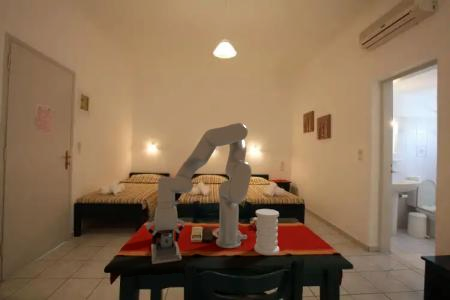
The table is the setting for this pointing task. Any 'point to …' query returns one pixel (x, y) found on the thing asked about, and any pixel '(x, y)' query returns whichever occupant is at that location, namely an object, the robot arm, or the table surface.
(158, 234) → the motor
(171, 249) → the mounting plate
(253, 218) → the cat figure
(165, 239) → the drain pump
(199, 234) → the table surface
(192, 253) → the table surface
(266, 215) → the decorative container
